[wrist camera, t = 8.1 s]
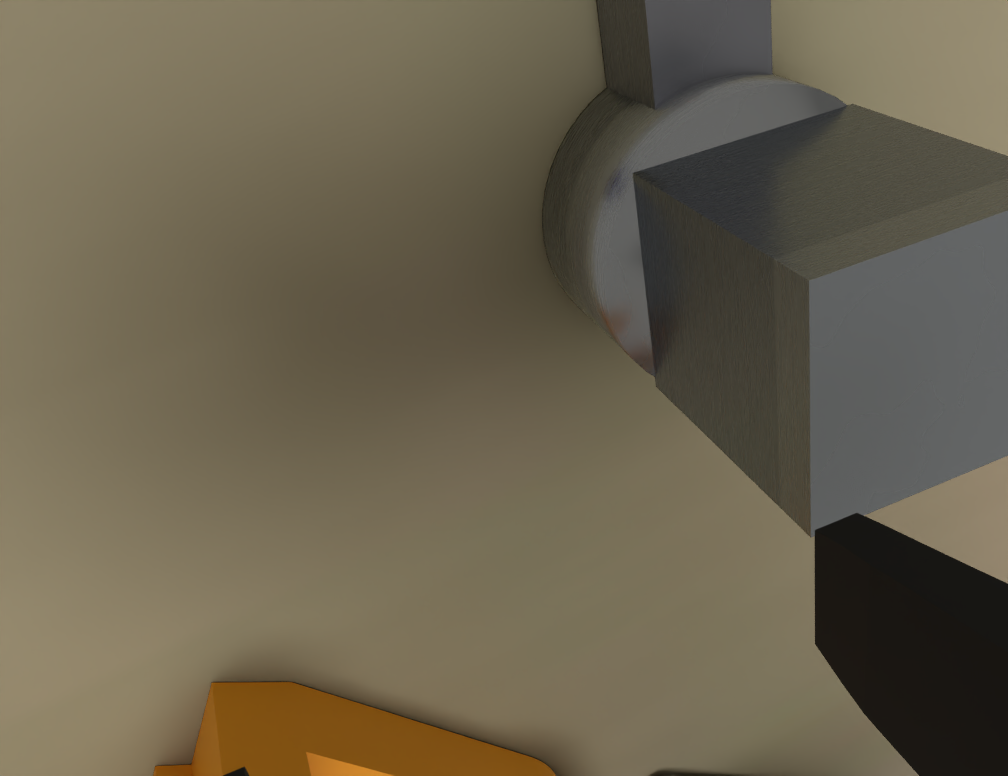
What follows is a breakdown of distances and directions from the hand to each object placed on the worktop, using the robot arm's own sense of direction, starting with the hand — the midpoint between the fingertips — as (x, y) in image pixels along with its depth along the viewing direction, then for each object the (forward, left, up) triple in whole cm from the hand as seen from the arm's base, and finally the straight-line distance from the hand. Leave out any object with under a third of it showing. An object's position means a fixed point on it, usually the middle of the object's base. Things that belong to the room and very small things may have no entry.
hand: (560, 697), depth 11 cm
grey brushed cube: (-5, -5, -7) cm, 10 cm away
